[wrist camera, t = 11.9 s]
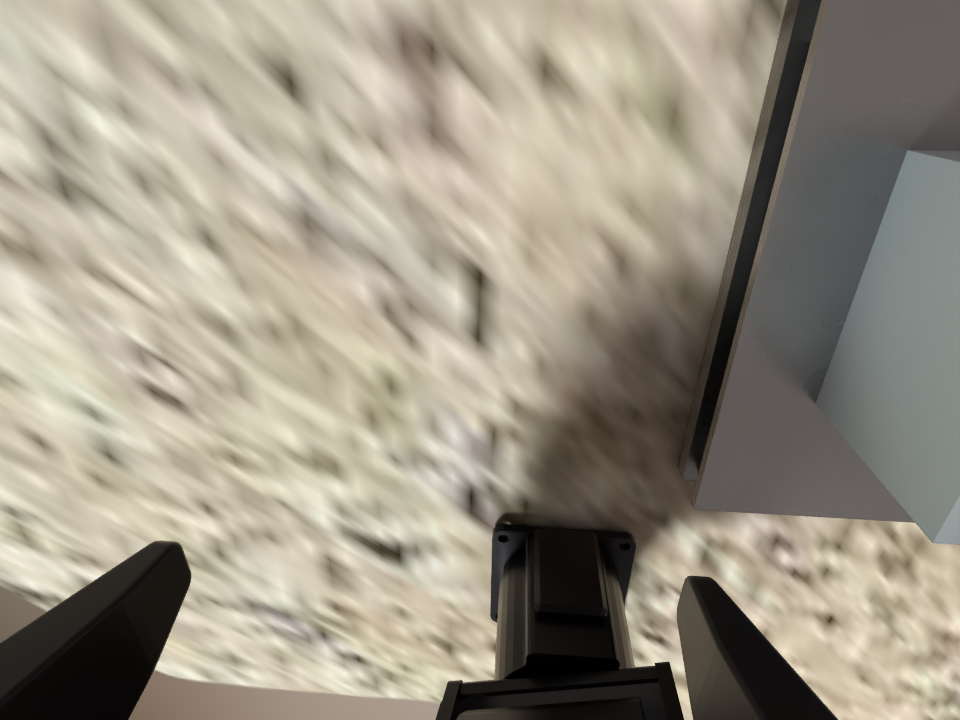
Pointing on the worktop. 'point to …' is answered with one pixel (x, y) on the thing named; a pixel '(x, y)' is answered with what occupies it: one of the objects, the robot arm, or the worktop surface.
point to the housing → (908, 349)
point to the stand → (814, 250)
